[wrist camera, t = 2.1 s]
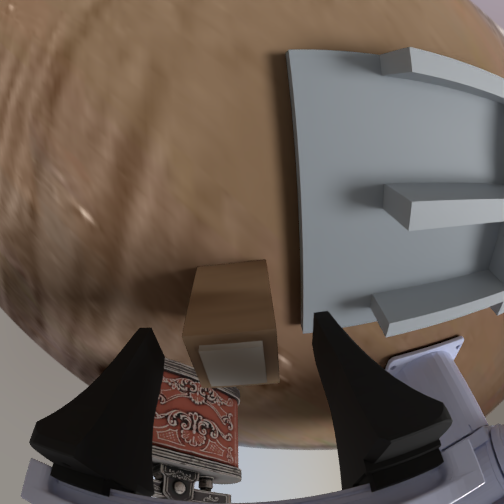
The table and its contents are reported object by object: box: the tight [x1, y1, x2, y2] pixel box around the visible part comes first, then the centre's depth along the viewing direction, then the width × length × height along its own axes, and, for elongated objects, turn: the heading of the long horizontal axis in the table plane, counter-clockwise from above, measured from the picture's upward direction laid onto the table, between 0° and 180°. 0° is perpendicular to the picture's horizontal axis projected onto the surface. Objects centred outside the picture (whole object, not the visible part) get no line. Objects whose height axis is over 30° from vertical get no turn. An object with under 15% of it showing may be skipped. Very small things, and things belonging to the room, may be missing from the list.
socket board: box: [286, 47, 504, 337], centre depth 11 cm, size 14×15×4 cm
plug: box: [182, 260, 280, 388], centre depth 13 cm, size 4×4×5 cm
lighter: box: [152, 358, 241, 503], centre depth 15 cm, size 8×3×10 cm, turn 55°
